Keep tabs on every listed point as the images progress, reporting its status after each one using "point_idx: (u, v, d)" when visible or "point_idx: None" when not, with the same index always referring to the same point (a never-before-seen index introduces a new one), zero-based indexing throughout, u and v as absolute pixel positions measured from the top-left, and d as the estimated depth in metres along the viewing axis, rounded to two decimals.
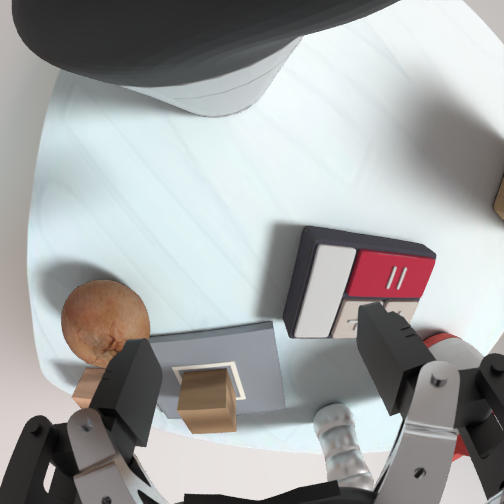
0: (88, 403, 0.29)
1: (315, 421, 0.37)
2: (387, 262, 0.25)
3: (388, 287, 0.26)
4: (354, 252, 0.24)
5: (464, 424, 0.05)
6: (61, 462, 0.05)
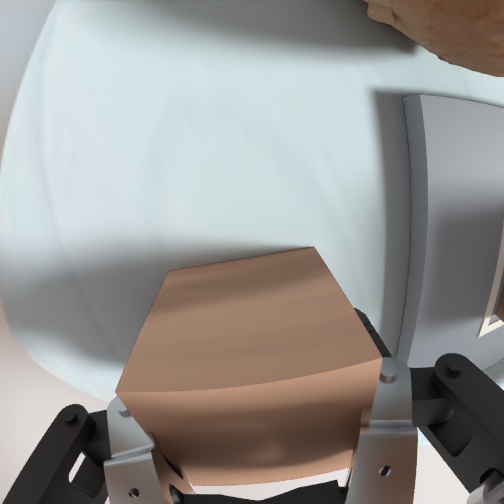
0: (234, 418, 0.05)
1: None
2: None
3: None
4: None
5: (422, 424, 0.06)
6: (97, 452, 0.06)
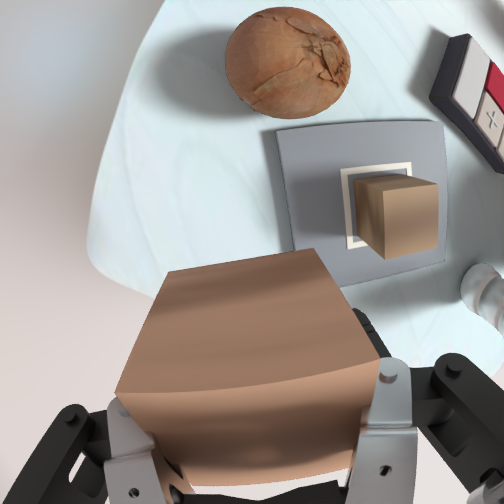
0: (233, 419, 0.05)
1: (468, 283, 0.28)
2: None
3: None
4: (489, 59, 0.17)
5: (422, 424, 0.06)
6: (97, 452, 0.06)
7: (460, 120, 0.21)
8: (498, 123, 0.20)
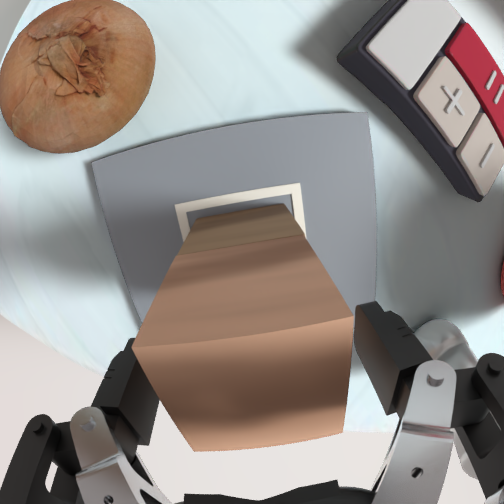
0: (231, 370, 0.07)
1: None
2: (488, 59, 0.11)
3: (488, 87, 0.12)
4: (459, 17, 0.10)
5: (461, 424, 0.05)
6: (64, 461, 0.05)
7: (388, 93, 0.14)
8: (466, 110, 0.13)
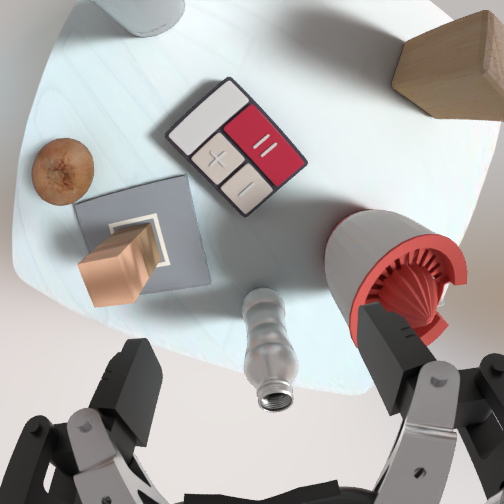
0: (97, 270, 0.27)
1: None
2: (264, 126, 0.32)
3: (255, 147, 0.32)
4: (246, 101, 0.30)
5: (464, 425, 0.05)
6: (61, 462, 0.05)
7: None
8: (229, 163, 0.33)
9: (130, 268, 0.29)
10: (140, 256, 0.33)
